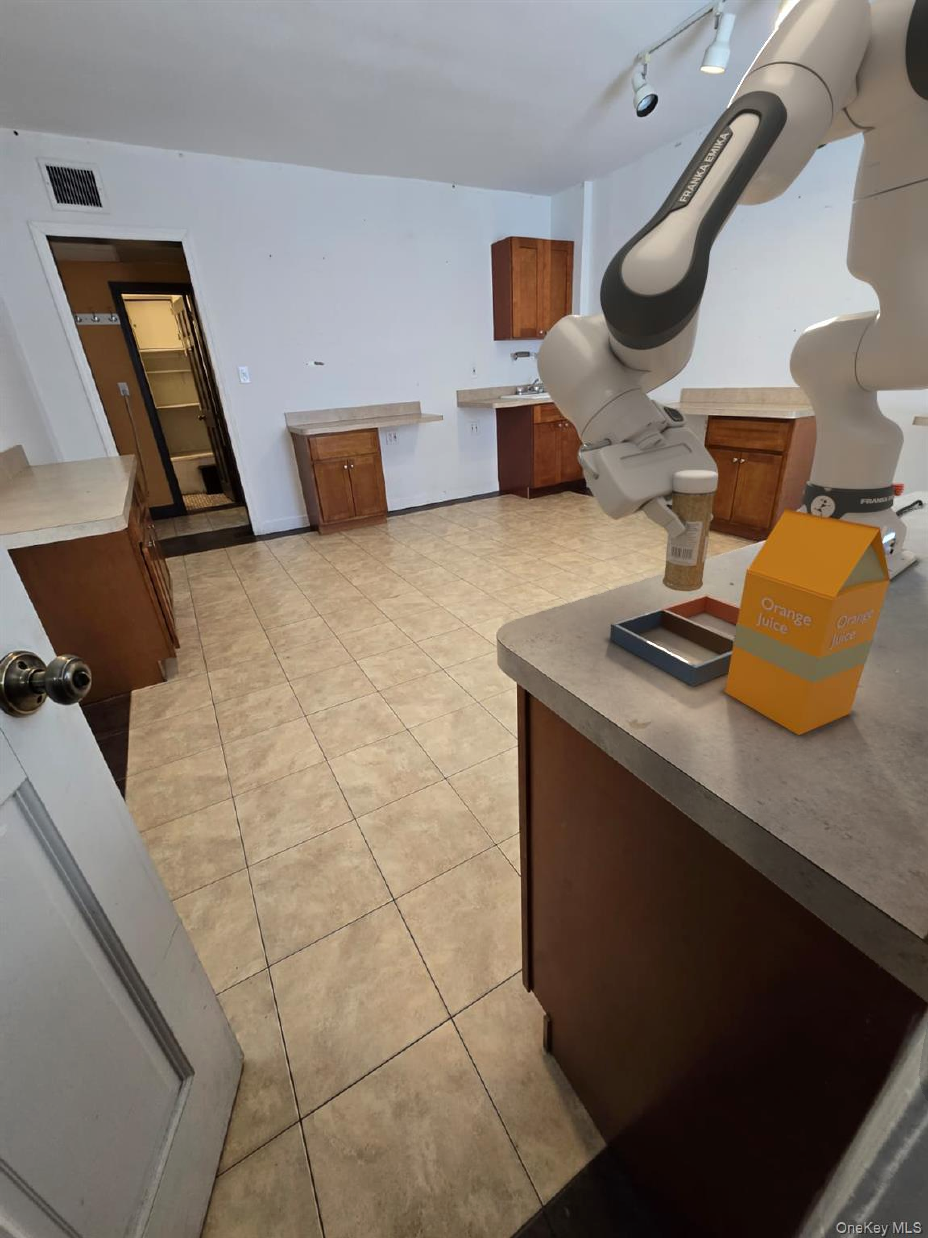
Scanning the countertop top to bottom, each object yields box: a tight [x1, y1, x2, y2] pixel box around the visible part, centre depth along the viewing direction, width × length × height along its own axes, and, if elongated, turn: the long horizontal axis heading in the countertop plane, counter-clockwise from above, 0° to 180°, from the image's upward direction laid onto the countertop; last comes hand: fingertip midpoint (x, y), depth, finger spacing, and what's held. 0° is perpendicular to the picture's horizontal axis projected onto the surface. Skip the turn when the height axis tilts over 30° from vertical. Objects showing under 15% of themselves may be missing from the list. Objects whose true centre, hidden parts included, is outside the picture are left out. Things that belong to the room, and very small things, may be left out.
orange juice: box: [724, 508, 891, 736], centre depth 50 cm, size 8×9×20 cm
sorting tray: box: [609, 594, 740, 688], centre depth 67 cm, size 18×14×2 cm
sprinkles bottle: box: [662, 470, 719, 592], centre depth 59 cm, size 5×5×13 cm
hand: (694, 528), depth 59 cm, fingers closed on sprinkles bottle, 4 cm apart
